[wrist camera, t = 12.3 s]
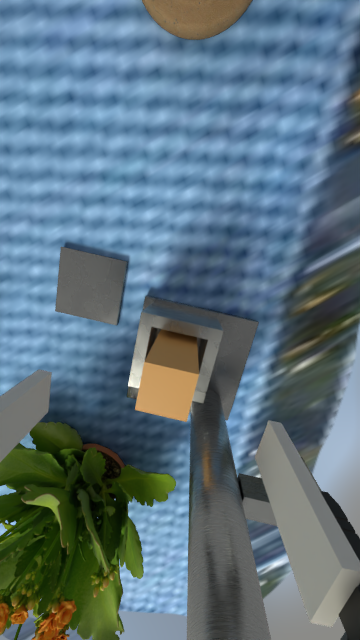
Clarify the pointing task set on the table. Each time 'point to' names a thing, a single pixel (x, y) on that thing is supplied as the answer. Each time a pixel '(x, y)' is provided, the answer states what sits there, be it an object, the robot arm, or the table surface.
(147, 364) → the tan rectangular bar
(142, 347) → the grey post stand
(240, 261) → the table surface
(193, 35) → the candle holder
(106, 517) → the potted flower
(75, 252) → the plate
